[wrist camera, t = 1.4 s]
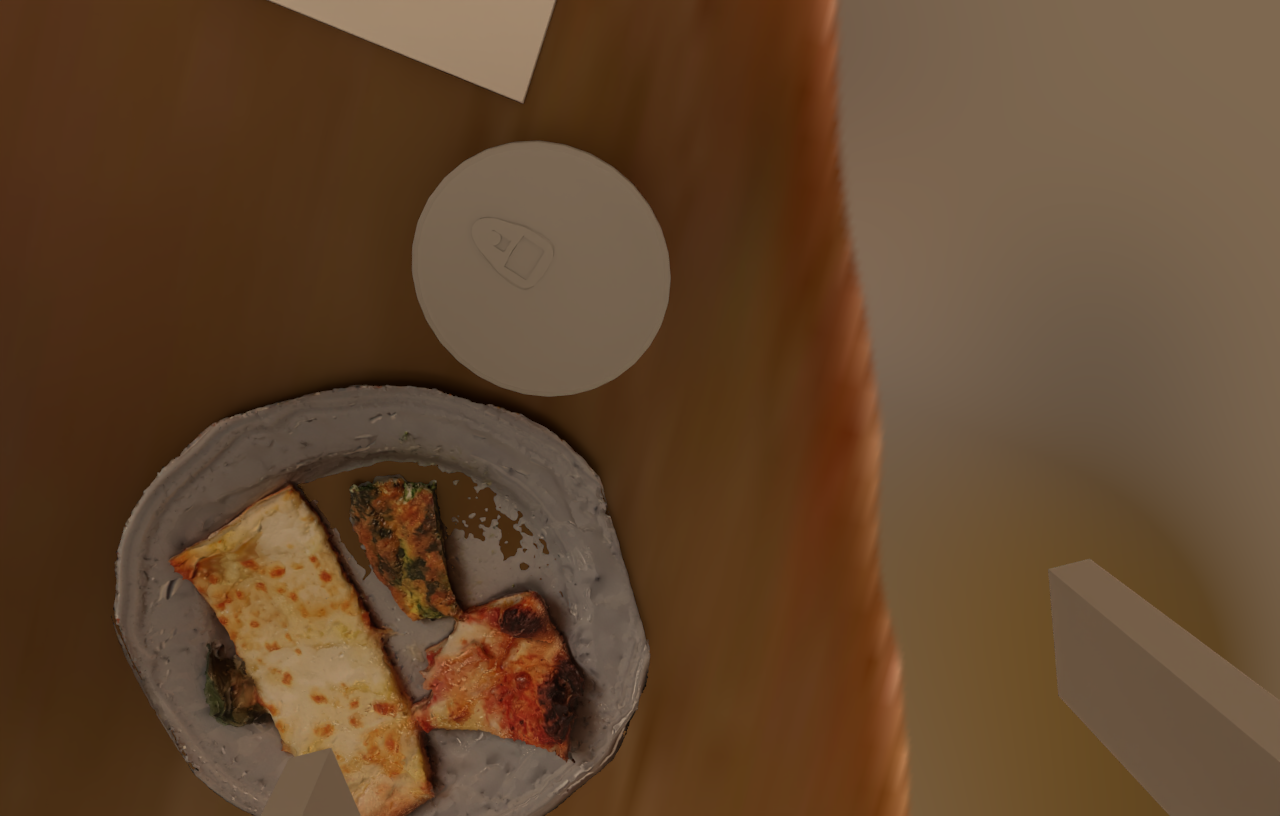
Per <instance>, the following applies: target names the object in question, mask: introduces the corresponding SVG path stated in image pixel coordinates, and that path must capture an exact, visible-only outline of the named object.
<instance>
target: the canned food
mask: <svg viewBox="0 0 1280 816" xmlns="http://www.w3.org/2000/svg"><path fill="white" fill-rule="evenodd" d="M412 274H413V279H414V285H415V290H416V295H417V298H418V301H419V303H420V306H421V308H422V311H423V313H424V316H425V318H426V321H427V322H428V324H429V325H430V327H431V328H432V330H433V332H434V333H435V335H436V336H437V338H438V339H439V341H440V342H441V343H442V345H443V346H444V347H445V348H446V349H447V350H448V351H449V352H450V353H451V354H452V355H453V356H454V357H455V358H456V360H457V361H459V362H460V363H461V364H463V365H464V366H465V367H467V368H468V369H469V370H471V371H472V372H473V373H475V374H476V375H477V376H479V377H481V378H483V379H485V380H487V381H489V382H491V383H493V384H495V385H497V386H499V387H502V388H505V389H509V390H512V391H515V392H519V393H522V394H528V395H538V396H547V397H550V396H562V395H573V394H577V393H580V392H584V391H588V390H591V389H595V388H597V387H599V386H601V385H603V384H605V383H607V382H609V381H611V380H613V379H615V378H617V377H618V376H619V375H621V374H622V373H623V372H625V371H626V370H627V369H628V368H630V367H631V366H632V365H634V364H635V363H636V361H637V360H638V359H639V358H640V357H641V356H642V354H643V353H644V352H645V351H646V350H647V349H648V347H649V346H650V345H651V343H652V341H653V339H654V337H655V336H656V334H657V332H658V330H659V328H660V327H661V324H662V321H663V318H664V315H665V312H666V308H667V305H668V300H669V291H670V281H671V275H670V264H669V253H668V249H667V246H666V242H665V239H664V235H663V232H662V229H661V226H660V224H659V222H658V221H657V219H656V217H655V215H654V213H653V211H652V209H651V207H650V205H649V204H648V202H647V201H646V200H645V199H644V197H643V196H642V195H641V194H640V192H639V191H638V190H637V188H636V187H635V186H634V185H633V184H632V183H631V182H630V181H629V180H628V179H627V178H626V177H624V176H623V175H622V174H621V173H620V172H619V171H618V170H616V169H615V168H614V167H613V166H611V165H609V164H608V163H606V162H604V161H603V160H601V159H599V158H597V157H596V156H594V155H592V154H591V153H588V152H585V151H583V150H580V149H577V148H574V147H571V146H568V145H565V144H560V143H553V142H546V141H539V140H538V141H521V142H510V143H507V144H503V145H500V146H496V147H492V148H489V149H486V150H484V151H482V152H480V153H478V154H476V155H474V156H473V157H471V158H469V159H467V160H465V161H464V162H462V163H461V164H460V165H459V166H458V167H456V168H455V169H454V170H453V171H452V172H450V173H449V174H448V175H447V176H446V177H445V178H444V179H443V180H442V182H441V183H440V184H439V186H438V187H437V188H436V189H435V191H434V192H433V193H432V195H431V196H430V197H429V199H428V201H427V203H426V205H425V207H424V209H423V212H422V214H421V216H420V218H419V220H418V223H417V228H416V232H415V237H414V241H413V245H412Z"/></svg>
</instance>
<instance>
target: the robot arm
mask: <svg viewBox="0 0 1280 816" xmlns="http://www.w3.org/2000/svg"><path fill="white" fill-rule="evenodd" d="M1048 573H1049V584H1050V596H1051V610H1052V621H1053V634H1054V645H1055V646H1054V647H1055V659H1056V671H1057V683H1058V696H1059V697H1060V698H1061V699H1062V700H1063V701H1064V702H1065V703H1066V704H1067V705H1068V706H1069V708H1070V709H1071V710H1072V711H1073V712H1074V713H1075V714H1076V715H1077V716H1078V717H1079V718H1080V719H1081V720H1082V721H1083V723H1084V724H1085V725H1086V726H1087V727H1088V728H1089V729H1090V730H1091V731H1092V732H1093V733H1094V735H1095V736H1096V737H1097V738H1098V739H1099V740H1100V741H1101V742H1102V743H1103V744H1104V745H1105V746H1106V747H1107V749H1109V751H1110V752H1111V753H1112V754H1113V755H1114V756H1115V757H1116V758H1117V759H1118V760H1119V761H1120V762H1121V764H1122V765H1123V766H1124V767H1125V768H1126V769H1127V770H1128V771H1129V772H1130V773H1131V774H1132V775H1133V777H1135V779H1136V780H1137V781H1138V782H1139V783H1140V784H1141V785H1142V786H1143V787H1144V788H1145V790H1147V792H1148V793H1149V794H1150V795H1151V796H1152V797H1153V798H1154V799H1155V800H1156V801H1157V802H1158V804H1159V805H1160V806H1161V807H1162V808H1163V809H1164V810H1165V811H1166V812H1167V813H1168V814H1169V815H1170V816H1280V700H1279V699H1277V698H1276V697H1274V696H1273V695H1272V694H1270V693H1269V692H1268V691H1266V690H1265V689H1264V688H1262V687H1261V686H1260V685H1258V684H1257V683H1256V682H1254V681H1253V680H1252V679H1250V678H1249V677H1248V676H1246V675H1245V674H1244V673H1242V672H1241V671H1240V670H1238V669H1237V668H1236V667H1234V666H1233V665H1231V664H1230V663H1229V662H1227V661H1226V660H1225V659H1223V658H1222V657H1221V656H1219V655H1218V654H1217V653H1215V652H1214V651H1213V650H1211V649H1210V648H1209V647H1207V646H1206V645H1205V644H1203V643H1202V642H1201V641H1199V640H1198V639H1197V638H1195V637H1194V636H1192V635H1191V634H1190V633H1189V632H1187V631H1186V630H1184V629H1183V628H1182V627H1180V626H1179V625H1178V624H1176V623H1175V622H1174V621H1172V620H1171V619H1170V618H1168V617H1167V616H1166V615H1164V614H1163V613H1161V612H1160V611H1159V610H1158V609H1156V608H1155V607H1154V606H1152V605H1151V604H1150V603H1148V602H1147V601H1146V600H1144V599H1143V598H1142V597H1140V596H1139V595H1138V594H1136V593H1135V592H1134V591H1132V590H1130V589H1129V588H1128V587H1127V586H1126V585H1124V584H1123V583H1121V582H1120V581H1119V580H1117V579H1116V578H1115V577H1113V576H1112V575H1111V574H1109V573H1108V572H1107V571H1105V570H1104V569H1103V568H1101V567H1100V566H1099V565H1097V564H1096V563H1095V562H1093V561H1092V560H1091V559H1087V560H1083V561H1079V562H1075V563H1071V564H1067V565H1063V566H1059V567H1055V568H1051V569H1048ZM261 816H361V815H360V813H359V810H358V808H357V806H356V804H355V801H354V799H353V797H352V794H351V792H350V790H349V787H348V785H347V783H346V780H345V778H344V776H343V773H342V771H341V769H340V767H339V764H338V762H337V760H336V757H335V755H334V753H333V750H332V748H328V749H324V750H320V751H316V752H312V753H308V754H304V755H300V756H296V757H292V758H289V760H288V762H287V764H286V766H285V768H284V770H283V772H282V774H281V776H280V778H279V780H278V782H277V784H276V786H275V788H274V790H273V792H272V794H271V796H270V798H269V800H268V802H267V804H266V806H265V808H264V810H263V812H262V814H261Z"/></svg>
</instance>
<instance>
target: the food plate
mask: <svg viewBox="0 0 1280 816" xmlns="http://www.w3.org/2000/svg"><path fill="white" fill-rule="evenodd" d="M352 386H356V387H348V388H340V389H336V388H335V389H333V390H330V391H328V390H327V391H321V392H317V393H312V394H308V395H303V396H302V397H299V398H295V399H292V400H290V399H289V400H286V401H283V402H281V401H280V402H279V403H278V402H276V403H274V404H272V405H267V406H265V407H262V408H257V409H253V410H250V411H248V412H246V413H244V414H243V413H242V414H243V415H242V414H237V415H235V416H233V417H230V418H228V417H226V418H223V420H219V421H218V422H215V423H213V424H211V425H210V427H207V428H206V430H204V431H203V432H201V433H200V434H199V435H198V437H197V438H196V440H195V439H194V441H193V443H192V442H191V443H190V444H188V447H187V448H185V449H184V450H183V452H182V453H180V454H181V456H180V457H175V459H172V460H171V461H170V462H169V464H168V465H167V466H166V467H163V469H161V472H160V473H159V472H157V474H158V475H157V477H156V479H154V481H153V483H151V485H150V487H148V488H147V489H146V490H144V491H143V496H142V497H141V499H140V500H139V501H138V502H137V505H135V507H134V508H135V509H133V510H132V512H131V517H130V518H129V519H128V520H127V522H126V523H125V524H126V527H123V528H124V531H123V534H122V538H121V539H122V540H120V544H119V545H118V546H119V549H118V551H116V553H117V554H118V555H117V556H118V558H117V560H116V561H115V562H114V563H115V572H116V573H115V574H116V580H117V581H116V595H115V601H114V602H115V603H114V608H113V609H114V611H115V613H114V614H115V618H116V620H117V622H116V625H117V624H118V625H119V628H120V627H121V628H120V631H121V632H122V634H123V635H124V636H123V638H124V643H125V644H126V646H127V649H128V652H129V653H130V656H131V658H132V660H130V657H129V655H128V653H127V650H126V649H125V646H124V644H123V642H122V639H121V637H120V635H119V634H118V633H117V630H116V627H115V626H114V627H115V630H116V634H117V637H118V640H119V643H120V645H121V647H122V649H123V652H124V655H125V657H126V659H127V661H128V663H129V665H130V666H131V668H132V670H133V672H134V675H135V677H136V679H137V681H138V682H139V684H140V686H141V688H142V690H143V692H144V694H145V695H146V697H147V698H148V701H149V703H150V705H151V707H152V708H153V709H155V711H156V715H157V716H158V718H159V719H160V721H161V723H162V724H163V726H164V727H165V729H166V731H167V732H168V734H169V736H170V737H171V739H172V741H173V742H174V744H175V746H176V747H177V748H178V747H179V748H180V750H179V748H178V750H179V751H180V753H181V752H182V750H184V752H185V753H186V755H185V756H184V755H183V754H182V753H181V754H182V756H183V757H184V759H185V761H186V762H192V766H193V767H196V768H195V769H194V770H193V769H191V768H190V769H191V770H192V772H193V773H194V774H195V775H196V776H197V777H198V778H199V779H200V780H201V781H203V782H204V783H205V784H206V785H207V786H208V787H209V788H210V789H211V790H213V792H215V793H216V794H218V795H219V796H221V797H222V798H223V799H225V800H226V801H227V802H229V803H231V804H233V805H234V806H236V807H238V808H240V809H241V810H243V811H246V812H248V813H250V814H252V815H255V816H261V814H262V812H263V810H264V808H265V806H266V804H267V802H268V800H269V798H270V796H271V794H272V792H273V790H274V788H275V786H276V784H277V782H278V780H279V778H280V776H281V774H282V772H283V770H284V768H285V766H286V764H287V762H288V760H289V758H292V757H296V756H300V755H304V754H308V753H312V752H316V751H320V750H324V749H328V748H332V750H333V753H334V755H335V757H336V760H337V762H338V764H339V767H340V769H341V771H342V773H343V776H344V778H345V780H346V783H347V785H348V787H349V790H350V792H351V794H352V797H353V799H354V801H355V804H356V806H357V808H358V810H359V813H360V815H361V816H545V815H546V814H547V813H549V812H551V811H552V810H554V809H556V808H557V807H558V806H559V805H560V804H561V803H563V802H564V801H565V800H566V799H567V798H568V797H570V796H571V794H572V793H574V792H575V791H576V790H577V789H578V788H580V787H581V786H582V785H584V784H585V783H586V782H587V781H588V780H589V779H590V778H592V777H593V776H594V775H596V774H597V773H598V772H600V771H601V770H602V769H603V768H604V767H605V766H606V765H607V764H608V763H609V762H611V761H612V759H614V757H615V755H616V753H617V752H618V750H619V748H620V746H621V745H622V742H623V739H624V737H625V736H624V737H623V733H624V731H626V733H627V729H628V727H627V726H629V722H630V720H631V719H632V717H633V715H634V713H635V711H636V710H638V707H637V706H638V703H639V698H640V696H641V693H643V690H644V688H645V687H646V682H647V678H648V676H647V673H648V667H649V660H650V653H649V652H650V649H649V645H648V644H647V642H646V637H645V632H644V629H643V624H642V621H641V619H640V615H639V612H638V608H637V605H636V601H635V598H634V594H633V591H632V588H631V585H630V581H629V576H628V572H627V569H626V567H625V564H624V561H623V558H622V555H621V551H620V547H619V546H620V545H619V541H618V539H617V535H616V532H615V529H614V527H613V524H612V520H611V517H610V516H608V515H607V514H605V512H606V507H607V503H606V502H604V500H603V499H602V498H603V496H602V493H603V495H604V490H603V485H602V483H601V480H600V477H599V476H598V475H597V474H596V473H595V472H594V470H593V469H591V467H589V465H588V464H587V462H586V461H585V459H583V458H582V456H580V455H579V454H577V452H574V450H573V448H572V447H571V446H569V445H568V444H567V443H566V441H565V440H562V439H560V438H558V436H557V435H556V434H555V433H553V432H552V431H549V429H548V428H546V427H544V426H542V425H540V424H538V423H536V422H533V421H531V420H530V419H528V418H527V417H525V416H524V415H522V414H519V413H515V412H513V413H511V412H510V411H506V410H505V408H501V409H500V408H499V407H495V406H493V405H491V404H488V405H484V404H477V403H474V402H471V401H469V400H468V399H464V398H459V397H457V396H452V395H451V394H446V393H445V394H444V393H442V392H443V391H438V390H437V389H428V390H427V388H420V387H419V388H417V387H413V386H403V387H397V386H390V385H386V386H384V385H383V386H367V385H365V386H362V385H352ZM383 461H396V462H414V463H415V462H418V465H420V466H429V465H436V464H437V465H438V468H439V469H440V470H441V471H442V472H445V471H446V472H447V473H453V472H456V471H457V472H462V473H464V474H465V475H467V476H469V477H471V479H472V480H473V482H474V483H477V484H478V486H477V487H473V488H474V489H475V490H476V491H477V493H478V492H479V490H481V489H484V488H485V487H490V488H491V490H492V491H493V492H495V493H497V495H496V496H495V497H494V501H495V504H496V510H498V511H500V512H501V513H503V514H505V515H506V516H507V517H508V518H510V519H511V520H514V521H515V520H516V519H517V517H518V513H517V511H521V513H522V514H523V517H522V518H520V520H519V522H518V524H514V525H513V527H514V529H516V530H517V531H520V533H521V527H519V526H521V524H525V526H526V527H527V528H528V529H529V530H530V531H531V532H532V533H533V536H529V535H527V534H526V533H524V532H522V533H521V535H522V536H523V539H522V540H521V541H520V544H521V546H522V548H518V549H517V553H516V555H515V556H512V557H511V556H510V558H507V560H505V561H503V559H504V556H503V554H502V553H501V551H500V547H501V546H499V541H500V539H501V537H502V534H501V529H499V528H498V527H497V526H498V524H499V523H498V522H497V521H498V519H499V518H500V516H499V515H498V517H497V518H498V519H493V520H492V523H491V526H490V527H489V528H487V527H485V526H484V525H481V524H480V525H479V528H483V530H484V531H486V532H483V535H484V536H485V541H484V542H482V541H481V540H480V539H477V538H474V537H473V534H472V533H469V536H468V538H467V539H465V538H464V534H465V533H464V531H463V530H458V529H454V530H453V532H452V534H451V535H450V536H448V535H447V532H446V529H447V527H446V526H445V525H444V524H443V522H442V521H441V518H440V511H439V509H440V508H439V506H438V504H437V495H436V493H435V489H436V486H437V485H436V484H437V483H436V480H432V481H430V482H429V484H424V483H422V482H418V483H412V482H407V481H406V480H405V479H404V478H403V476H401V475H400V474H398V475H393V476H390V475H387V476H377V477H375V478H374V481H373V483H370V482H368V481H367V482H365V483H361V484H360V485H359V486H356V485H354V484H353V485H352V486H351V487H350V493H351V498H350V499H352V501H351V508H350V512H349V513H350V518H349V519H350V521H351V523H352V526H353V531H354V532H356V533H357V534H358V535H359V542H360V543H362V544H363V545H362V546H360V547H361V548H362V549H366V551H364V552H365V553H366V557H367V559H369V563H370V564H371V565H369V567H370V568H371V569H372V570H371V573H370V574H369V575H368V576H367V577H366V578H365V580H362V578H363V577H364V575H365V573H366V572H365V569H364V568H362V567H361V566H359V565H358V564H357V561H356V560H354V557H353V556H352V555H351V554H350V553H349V552H348V550H347V548H346V547H345V544H343V543H342V542H340V541H341V539H340V534H339V532H338V531H337V529H336V528H334V529H331V528H330V523H329V521H328V520H327V519H326V517H325V516H324V515H323V513H322V512H321V511H320V509H319V508H318V507H317V505H316V504H317V503H318V501H317V500H313V501H312V502H309V501H308V499H306V498H305V495H304V492H303V490H302V489H300V488H298V487H297V485H298V484H300V483H308V482H311V481H314V480H316V479H317V478H322V477H326V476H329V475H333V474H338V473H340V472H343V471H350V470H353V469H355V468H360V467H364V466H371V465H373V464H375V463H378V462H383ZM458 481H459V480H455V481H453V484H454V485H457V483H458ZM601 489H602V493H601ZM476 498H477V499H478V497H476ZM604 498H605V495H604ZM468 499H470V497H468ZM605 501H606V499H605ZM311 506H312V507H311ZM499 507H501V509H500V508H499ZM485 510H486V511H487V510H488V509H487V508H486V509H485ZM608 512H609V511H608ZM221 513H222V514H221ZM475 515H476V514H475V513H472V514H470V515H469V518H473V517H474V516H475ZM458 517H459V515H458ZM485 518H486V517H483V518H480V520H481V522H483V521H485ZM452 521H453V522H454V521H457V522H458V520H457V519H456V518H455V517H452ZM462 523H464V526H465V527H468V525H466V524H465V523H466V522H465V520H462ZM455 524H456V523H455ZM446 536H447V539H445V537H446ZM495 536H496V537H495ZM539 538H541V539H544V540H545V542H546V543H547V549H548V551H549V554H548V555H546V554H544V553H542V552H543V548H544V545H543V544H542V543H541V542H540V541H539ZM522 542H523V543H522ZM505 543H508V541H506V542H505ZM533 543H536V544H537V548H538V549H536V548H535V546H534V545H533ZM336 544H337V545H336ZM524 548H526V549H527V551H526V552H525V553H524V552H523V551H522V550H523V549H524ZM534 555H535V558H534ZM554 558H555V559H556V560H555V559H554ZM522 562H524V563H526V564H528V565H529V568H528V569H527V570H521V569H520V568H519V567H520V566H519V565H520V563H522ZM547 564H549V566H547ZM451 566H453V567H454V568H452V567H451ZM508 567H509V568H508ZM539 567H540V569H539ZM116 568H117V569H116ZM510 568H511V569H510ZM531 575H532V576H531ZM539 578H542V580H540V579H539ZM559 591H561V592H562V594H563V597H562V595H561V593H559ZM111 618H112V616H111ZM112 621H113V620H112ZM113 624H114V622H113ZM114 625H115V624H114ZM405 633H406V634H405ZM125 637H126V638H125ZM647 645H648V646H647ZM648 649H649V650H648ZM131 661H134V664H135V666H136V667H137V669H138V671H139V674H140V676H141V678H142V680H141V678H140V676H139V675H138V674H137V671H136V669H135V667H134V665H133V664H132V662H131ZM424 678H425V679H424ZM172 729H173V731H172V732H173V734H174V735H175V737H176V739H177V741H175V738H174V736H173V735H172V732H171V730H172ZM626 733H625V735H626ZM187 764H188V763H187ZM188 766H189V765H188ZM189 767H190V766H189Z"/></svg>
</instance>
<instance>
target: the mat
mask: <svg viewBox="0 0 1280 816" xmlns="http://www.w3.org/2000/svg"><path fill="white" fill-rule="evenodd" d="M268 1H270V2H273V3H275V4H278V5H280V6H283V7H285V8H288V9H290V10H292V11H295V12H297V13H300V14H302V15H305V16H307V17H310V18H312V19H315V20H317V21H320V22H322V23H325V24H327V25H329V26H332V27H334V28H337V29H339V30H342V31H344V32H347V33H349V34H352V35H354V36H357V37H359V38H362V39H364V40H366V41H369V42H371V43H374V44H376V45H379V46H381V47H384V48H386V49H389V50H391V51H394V52H396V53H399V54H401V55H403V56H406V57H408V58H411V59H413V60H416V61H418V62H421V63H423V64H426V65H428V66H431V67H433V68H436V69H438V70H440V71H443V72H445V73H448V74H450V75H453V76H455V77H458V78H460V79H463V80H465V81H468V82H470V83H473V84H475V85H477V86H480V87H482V88H485V89H487V90H490V91H492V92H495V93H497V94H500V95H502V96H505V97H507V98H510V99H512V100H514V101H517V102H519V103H522V104H524V101H525V97H526V94H527V91H528V88H529V85H530V82H531V79H532V76H533V72H534V69H535V66H536V63H537V60H538V57H539V54H540V50H541V47H542V44H543V41H544V38H545V35H546V32H547V29H548V25H549V22H550V19H551V16H552V13H553V10H554V7H555V4H556V0H268Z"/></svg>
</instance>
